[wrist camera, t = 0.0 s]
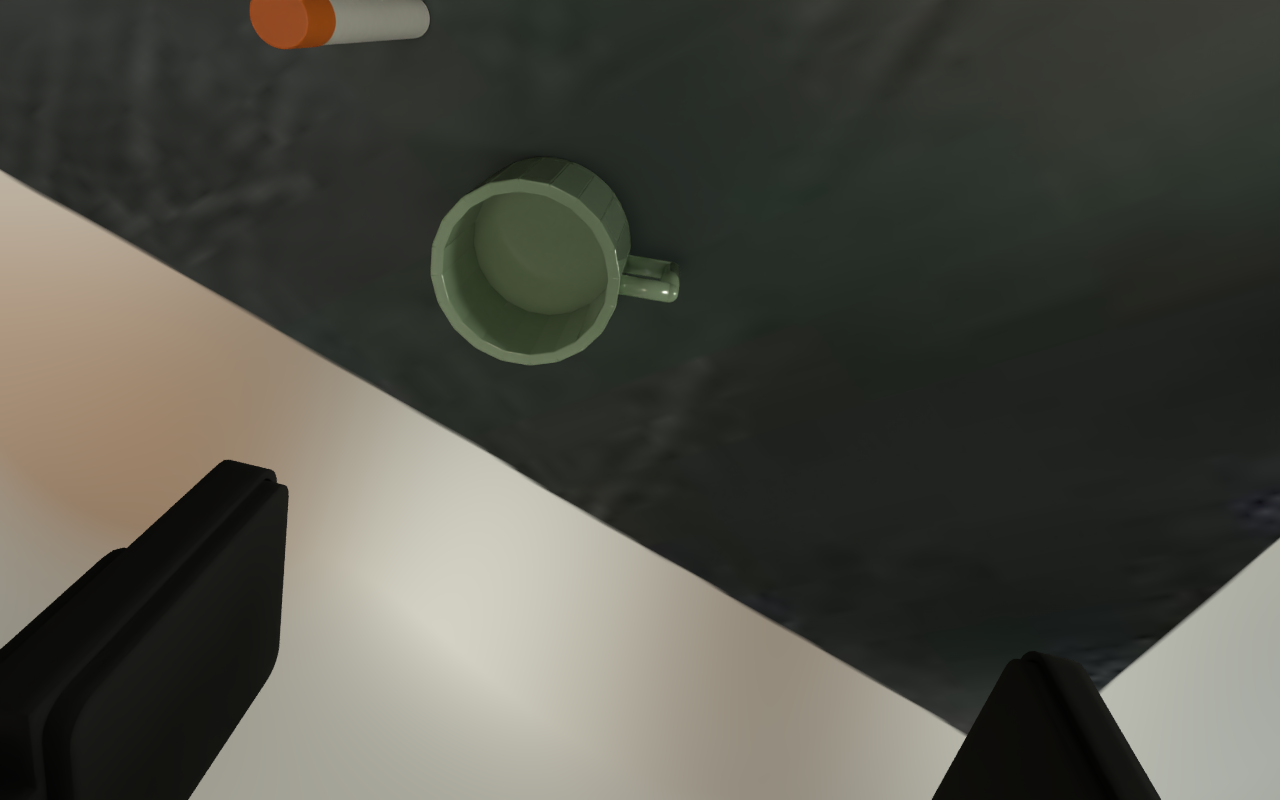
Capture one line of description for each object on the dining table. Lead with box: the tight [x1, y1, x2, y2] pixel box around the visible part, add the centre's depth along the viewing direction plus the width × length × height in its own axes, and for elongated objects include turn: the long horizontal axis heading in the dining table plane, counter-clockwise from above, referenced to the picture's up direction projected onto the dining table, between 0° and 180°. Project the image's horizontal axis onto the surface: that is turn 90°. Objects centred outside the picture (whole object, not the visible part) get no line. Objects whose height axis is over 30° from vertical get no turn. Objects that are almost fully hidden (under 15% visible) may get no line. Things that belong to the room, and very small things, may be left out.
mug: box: [430, 157, 680, 365], centre depth 43 cm, size 12×9×7 cm
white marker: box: [250, 0, 430, 49], centre depth 36 cm, size 2×2×14 cm
